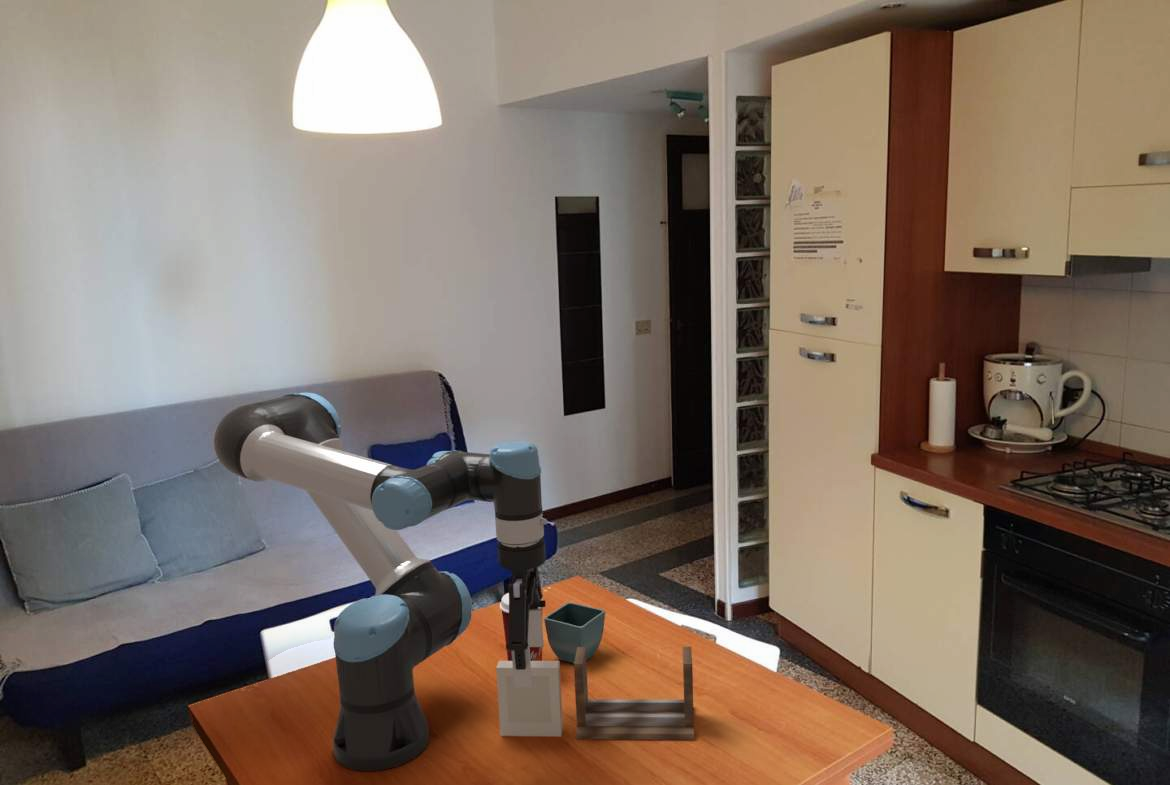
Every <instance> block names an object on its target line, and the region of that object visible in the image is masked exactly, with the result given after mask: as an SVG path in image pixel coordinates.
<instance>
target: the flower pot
mask: <svg viewBox="0 0 1170 785" xmlns="http://www.w3.org/2000/svg"><path fill="white" fill-rule="evenodd" d="M605 618H606V610H605V609H601V608H596V607H593V606H588V605H584V604H580V603H576V602H571V601H570V602H569V601H568V602H566V603H564V604H563V605H561V606H560V607H558V608H557V609H556V610H554V611H552V612H551V613H549V614H548V615H546V616H545V617H544V618H543V620H544V626H545V633H546V638H547V641H548V644H549V647H550V648H551V650H552V652H553V654H554V655H555V656H556V657H557V658H558V659H559V661H560V660H561V661H564V662H568V663H572V664H574V661H575V656H576V651H577V647H586V661H587V660H589V659H590V658H591V657H594V655H595V653H596V652H597V651H598V648H599V646H600V644H601V641H602V638H603V635H604V628H605Z"/></svg>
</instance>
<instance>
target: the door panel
mask: <svg viewBox="0 0 1170 785" xmlns="http://www.w3.org/2000/svg"><path fill="white" fill-rule="evenodd" d="M560 666H561V665H560V660H542V661H531V674H532V687H514V677H513V664H512V661H508V660H498V662H497V665H496V668H495V671H496V673H495V674H496V684H497V685H496V686H497V700H498V702H497V703H498V717H499V727H500V728H499V731H500V737H562V734H563V729H564V724H563V707H562V706H563V704H562V688H561V685H562V684H561V683H562V682H561V667H560Z"/></svg>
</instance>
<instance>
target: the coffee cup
mask: <svg viewBox="0 0 1170 785" xmlns="http://www.w3.org/2000/svg"><path fill="white" fill-rule="evenodd" d="M541 600H544V599H543V598H542V599H541ZM499 609H500V610H501V615H502V622H503V631H504V639H505V645H506V644H509V592H507V593H505V594H504V595H503V596H502V597H501V602H500V603H499ZM538 609H541V611H542V612H543V607H538ZM506 655H507V661H512V651H509V650H508V649H506ZM530 660H531V661H543V647H530Z"/></svg>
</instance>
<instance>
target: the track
mask: <svg viewBox="0 0 1170 785" xmlns="http://www.w3.org/2000/svg"><path fill="white" fill-rule="evenodd" d="M587 667H588V666H587V660H586V647H577V651H576V656H575V661H574V663H573V675H574V694H575V696H574V697H575V710H576V711H575V712H576V713H575V714H576V731H575V739H576V740H646V741H647V740H658V741H659V740H664V741H665V740H667V741H670V740H671V741H674V740H675V741H677V740H680V741H683V740H684V741H695V719H694V713H695V712H694V682H693V681H694V678H693V654H692V646H682V670H683V672H682V673H683V699H652V698H650V699H649V698H648V699H645V698H644V699H639V698H638V699H637V698H636V699H635V698H634V699H625V698H624V699H623V698H621V699H620V698H618V699H617V698H616V699H613V698H612V699H611V698H610V699H605V698H604V699H603V698H601V699H599V698H597V699H596V698H589V692H588V691H589V690H588V689H589V686H588V672H587V670H588V669H587Z"/></svg>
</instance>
